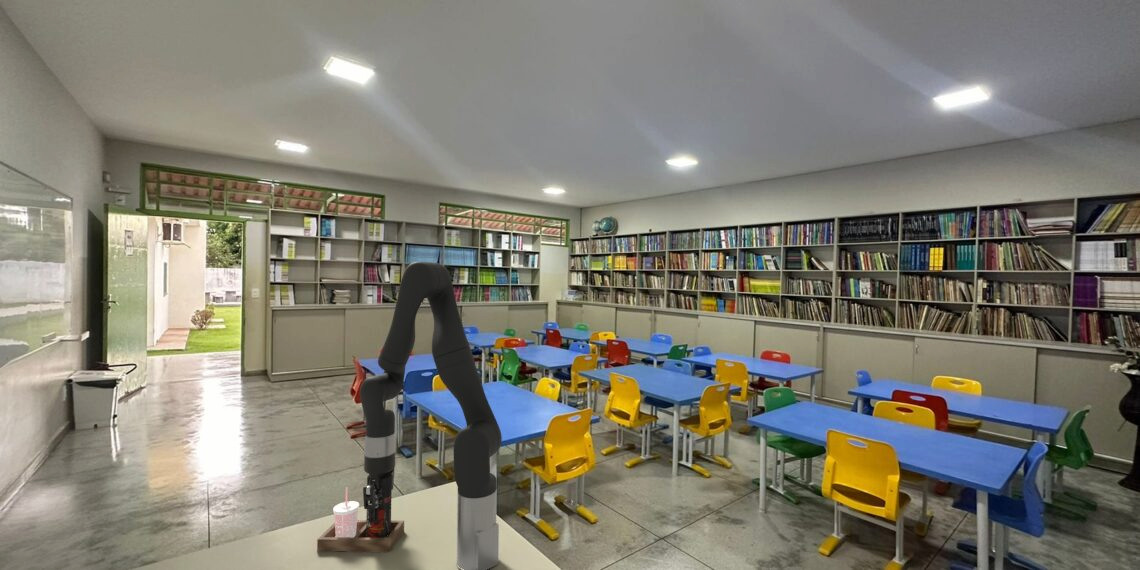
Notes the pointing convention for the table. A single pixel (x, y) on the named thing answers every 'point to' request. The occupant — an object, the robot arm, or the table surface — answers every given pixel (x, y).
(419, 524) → the table surface
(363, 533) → the divided wooden tray
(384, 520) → the deodorant
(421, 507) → the table surface
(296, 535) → the table surface
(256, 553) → the table surface
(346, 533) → the beverage cup
